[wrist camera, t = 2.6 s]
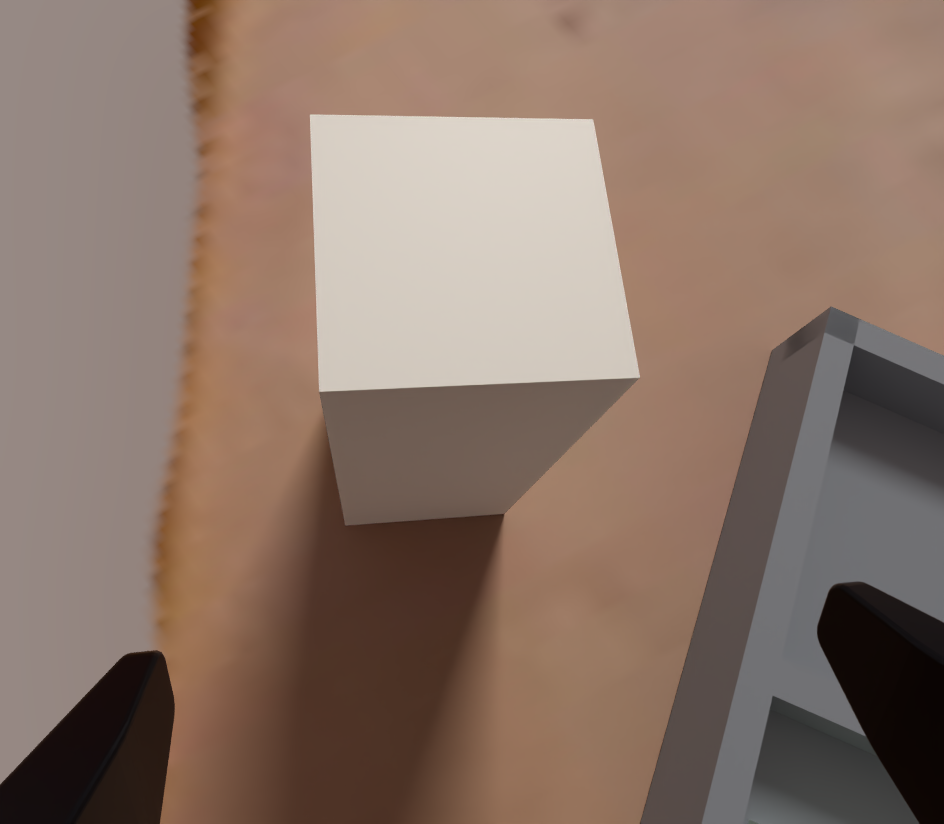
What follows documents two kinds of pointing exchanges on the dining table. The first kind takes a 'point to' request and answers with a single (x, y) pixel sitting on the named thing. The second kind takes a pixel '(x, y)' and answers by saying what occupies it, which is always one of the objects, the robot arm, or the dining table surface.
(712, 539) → the dining table surface
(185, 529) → the dining table surface
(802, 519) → the tray
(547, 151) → the cream block
